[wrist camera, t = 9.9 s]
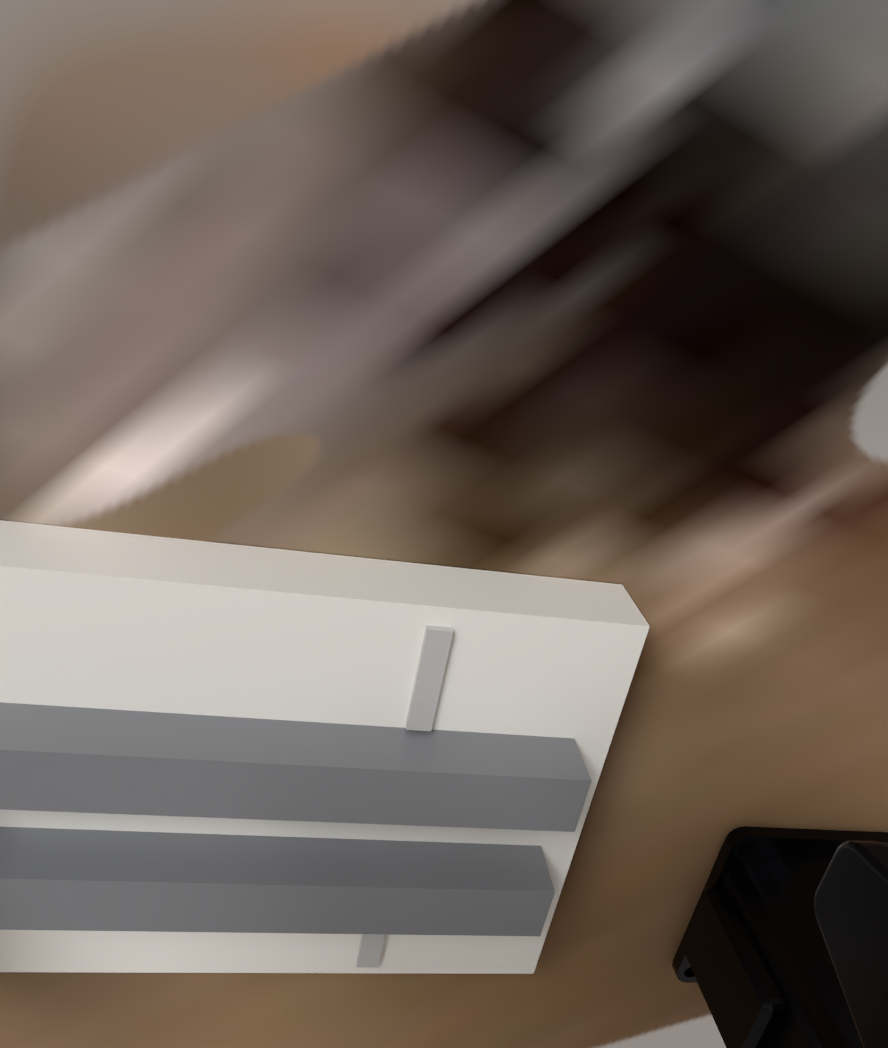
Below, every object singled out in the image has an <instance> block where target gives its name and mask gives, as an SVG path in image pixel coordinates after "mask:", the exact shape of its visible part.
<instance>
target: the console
mask: <svg viewBox="0 0 888 1048" xmlns="http://www.w3.org/2000/svg"><path fill="white" fill-rule="evenodd" d="M649 627H650V626H649V625H648V623H647V621H646V620H645V618H644V617H643V615H642V614H641V612H640V611H639V609H638V608H637V606H636V605H635V603H634V602H633V600H632V599H631V597H630V596H629V594H628V593H627V591H626V590H625V588H624V587H623V585H621V584H611V583H602V582H592V581H582V580H573V579H563V578H553V577H544V576H534V575H524V574H515V573H505V572H495V571H485V570H476V569H466V568H456V567H447V566H437V565H427V564H418V563H408V562H398V561H389V560H379V559H369V558H360V557H350V556H340V555H331V554H321V553H311V552H302V551H292V550H282V549H273V548H263V547H253V546H244V545H234V544H224V543H214V542H205V541H195V540H185V539H175V538H165V537H156V536H146V535H137V534H126V533H117V532H108V531H98V530H88V529H79V528H69V527H60V526H50V525H40V524H31V523H21V522H11V521H2V520H0V972H123V973H454V974H534V971H535V968H536V965H537V962H538V959H539V956H540V953H541V950H542V947H543V944H544V941H545V938H546V935H547V932H548V929H549V926H550V923H551V920H552V917H553V914H554V911H555V908H556V905H557V902H558V899H559V896H560V893H561V890H562V887H563V884H564V881H565V878H566V875H567V872H568V869H569V866H570V863H571V860H572V857H573V854H574V851H575V848H576V845H577V842H578V840H579V837H580V834H581V831H582V828H583V825H584V822H585V819H586V816H587V813H588V810H589V807H590V804H591V801H592V798H593V795H594V792H595V789H596V786H597V783H598V780H599V777H600V774H601V771H602V768H603V765H604V762H605V759H606V756H607V753H608V750H609V747H610V744H611V741H612V738H613V735H614V732H615V729H616V726H617V723H618V720H619V717H620V714H621V711H622V708H623V705H624V702H625V699H626V696H627V693H628V690H629V687H630V684H631V681H632V678H633V675H634V672H635V669H636V666H637V663H638V660H639V657H640V654H641V651H642V648H643V645H644V642H645V639H646V636H647V633H648V630H649Z"/></svg>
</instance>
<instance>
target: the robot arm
mask: <svg viewBox="0 0 888 1048" xmlns="http://www.w3.org/2000/svg"><path fill="white" fill-rule="evenodd" d="M672 966H673V968H674V970H675V973H676V975H677V977H678V979H679V980H680V981H682V982H698V984H699V987H700V989H701V991H702V993H703V996H704V998H705V1000H706V1002H707V1005H708V1007H709V1009H710V1011H711V1014H712V1016H713V1018H714V1021H715V1023H716V1025H717V1027H718V1030H719V1032H720V1034H721V1036H722V1038H723V1040H724V1043H725V1045H726V1047H727V1048H888V833H883V832H859V831H836V830H812V829H788V828H765V827H739V828H737V829H734V830H733V831H731V832H730V833H729V834H728V835H727V837H726V838H725V841H724V843H723V845H722V848H721V850H720V852H719V855H718V857H717V859H716V862H715V864H714V866H713V869H712V871H711V874H710V876H709V878H708V881H707V883H706V885H705V888H704V890H703V892H702V895H701V897H700V899H699V902H698V904H697V906H696V909H695V911H694V913H693V916H692V918H691V920H690V923H689V925H688V927H687V930H686V932H685V934H684V937H683V939H682V941H681V944H680V946H679V948H678V951H677V953H676V955H675V958H674V960H673V964H672Z"/></svg>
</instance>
